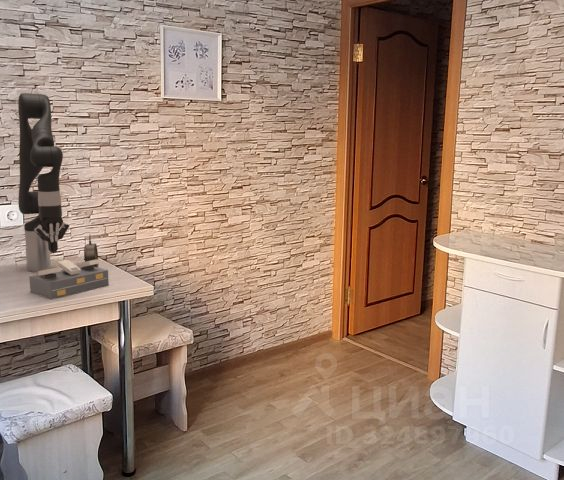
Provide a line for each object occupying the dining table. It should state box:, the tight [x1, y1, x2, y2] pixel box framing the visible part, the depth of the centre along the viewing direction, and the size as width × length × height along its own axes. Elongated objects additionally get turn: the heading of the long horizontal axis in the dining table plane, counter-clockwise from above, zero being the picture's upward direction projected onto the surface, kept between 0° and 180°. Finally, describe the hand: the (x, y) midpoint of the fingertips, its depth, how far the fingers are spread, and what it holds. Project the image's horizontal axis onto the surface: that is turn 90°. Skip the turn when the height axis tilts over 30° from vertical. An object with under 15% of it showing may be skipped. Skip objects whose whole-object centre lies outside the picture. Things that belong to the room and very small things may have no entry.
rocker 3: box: [76, 258, 100, 267], centre depth 224 cm, size 9×4×2 cm, turn 52°
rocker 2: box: [57, 259, 81, 275], centre depth 218 cm, size 9×4×2 cm, turn 52°
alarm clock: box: [83, 233, 100, 268], centre depth 243 cm, size 11×5×16 cm, turn 13°
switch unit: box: [28, 265, 110, 300], centre depth 219 cm, size 14×24×7 cm, turn 142°
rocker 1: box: [37, 266, 62, 276], centre depth 212 cm, size 9×4×2 cm, turn 52°
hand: (53, 251), depth 208 cm, fingers closed
